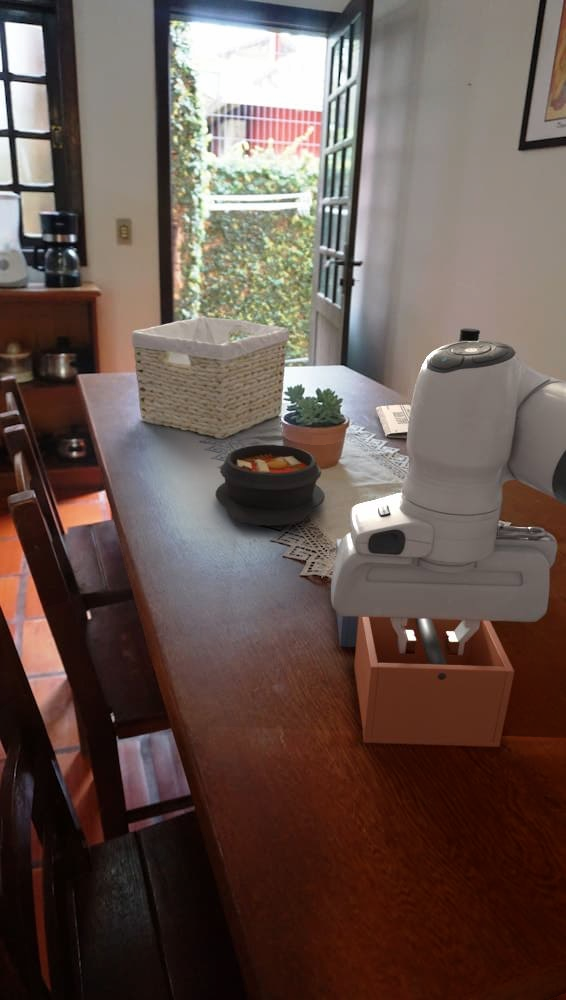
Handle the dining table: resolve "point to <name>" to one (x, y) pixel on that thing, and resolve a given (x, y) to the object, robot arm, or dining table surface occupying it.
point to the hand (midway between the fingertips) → (429, 650)
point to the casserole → (270, 485)
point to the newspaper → (394, 420)
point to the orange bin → (431, 685)
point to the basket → (210, 374)
